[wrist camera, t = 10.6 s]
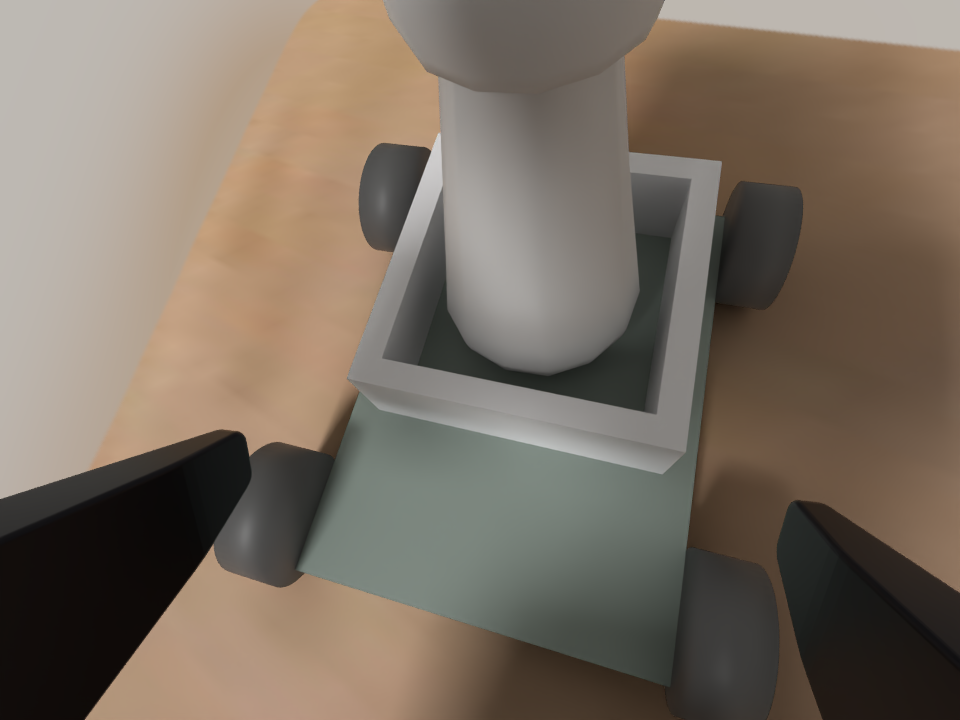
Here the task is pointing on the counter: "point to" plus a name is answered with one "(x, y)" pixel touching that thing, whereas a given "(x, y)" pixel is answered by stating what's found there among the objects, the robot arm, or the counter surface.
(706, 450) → the counter surface
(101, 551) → the robot arm
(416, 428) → the toy wheeled cart
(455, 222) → the salt shaker
